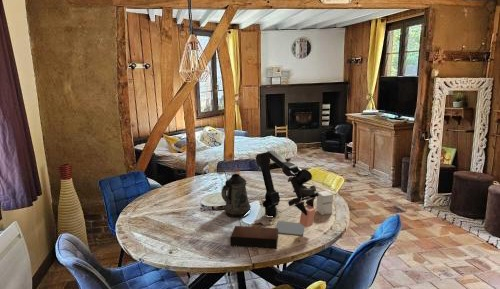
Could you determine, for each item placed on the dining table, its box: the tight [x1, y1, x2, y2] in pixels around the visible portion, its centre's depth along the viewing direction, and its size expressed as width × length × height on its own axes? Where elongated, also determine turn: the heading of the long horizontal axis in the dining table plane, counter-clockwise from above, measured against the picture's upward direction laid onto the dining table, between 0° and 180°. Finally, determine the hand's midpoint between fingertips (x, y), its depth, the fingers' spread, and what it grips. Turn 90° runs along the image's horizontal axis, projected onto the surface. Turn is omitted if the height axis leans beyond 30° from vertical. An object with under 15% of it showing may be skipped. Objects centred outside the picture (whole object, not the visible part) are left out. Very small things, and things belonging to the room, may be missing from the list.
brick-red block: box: [299, 204, 317, 228], centre depth 180 cm, size 5×5×10 cm
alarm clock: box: [229, 225, 279, 250], centre depth 174 cm, size 24×12×6 cm, turn 82°
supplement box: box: [316, 190, 334, 216], centre depth 209 cm, size 7×7×13 cm
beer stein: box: [220, 173, 252, 219], centre depth 207 cm, size 16×19×25 cm
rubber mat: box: [274, 220, 306, 237], centre depth 189 cm, size 16×14×1 cm
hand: (310, 213), depth 179 cm, fingers closed on brick-red block, 5 cm apart
